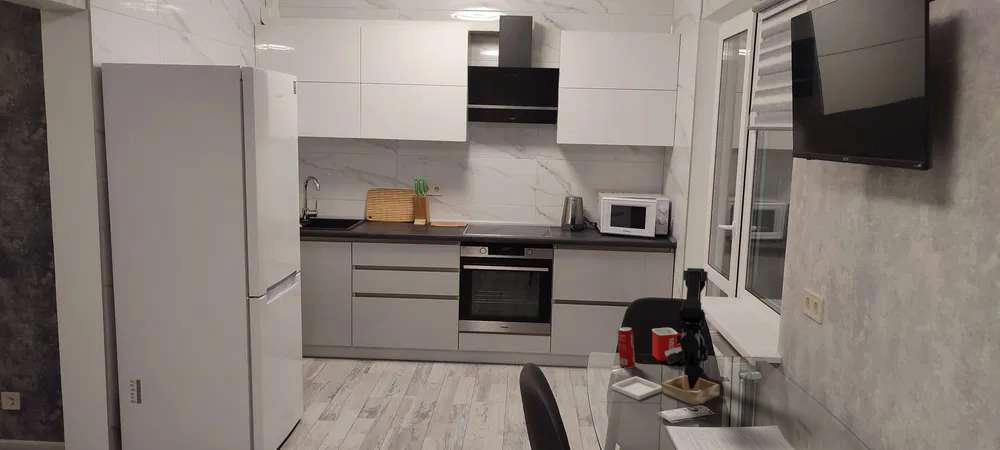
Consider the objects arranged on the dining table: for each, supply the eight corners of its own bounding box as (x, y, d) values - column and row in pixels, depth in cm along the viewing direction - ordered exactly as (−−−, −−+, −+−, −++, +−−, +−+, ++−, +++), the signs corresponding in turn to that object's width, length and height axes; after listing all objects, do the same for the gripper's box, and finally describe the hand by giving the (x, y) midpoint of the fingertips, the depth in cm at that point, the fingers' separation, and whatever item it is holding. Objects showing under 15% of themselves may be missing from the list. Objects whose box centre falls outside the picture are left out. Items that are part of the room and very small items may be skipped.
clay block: (681, 384, 237) (682, 371, 236) (696, 385, 236) (697, 371, 236) (683, 390, 232) (683, 376, 231) (698, 391, 231) (699, 377, 231)
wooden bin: (686, 384, 244) (686, 373, 243) (719, 396, 233) (719, 384, 233) (661, 394, 236) (661, 383, 235) (693, 406, 225) (694, 395, 225)
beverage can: (634, 369, 260) (635, 331, 257) (617, 368, 261) (617, 330, 259) (635, 363, 265) (635, 326, 263) (618, 363, 267) (618, 325, 264)
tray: (635, 381, 248) (635, 376, 248) (663, 391, 238) (663, 386, 238) (611, 390, 241) (611, 385, 240) (638, 401, 231) (638, 396, 230)
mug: (658, 361, 267) (658, 335, 265) (650, 354, 275) (650, 329, 273) (687, 359, 269) (688, 332, 267) (678, 352, 277) (679, 326, 275)
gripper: (664, 332, 242) (663, 374, 244) (669, 350, 224) (668, 396, 226) (696, 333, 240) (695, 375, 243) (704, 351, 222) (703, 397, 225)
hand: (690, 385), depth 234 cm, fingers closed on clay block, 5 cm apart
